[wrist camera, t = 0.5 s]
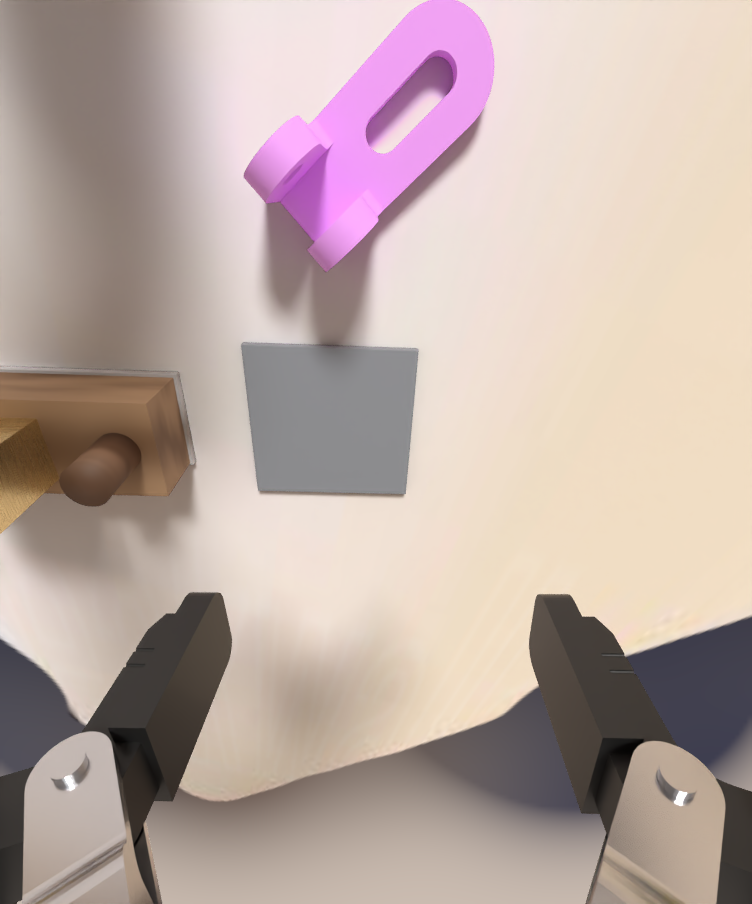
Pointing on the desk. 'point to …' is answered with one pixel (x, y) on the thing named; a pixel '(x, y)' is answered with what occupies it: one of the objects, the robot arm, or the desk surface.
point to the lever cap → (22, 467)
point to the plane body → (104, 428)
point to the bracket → (345, 122)
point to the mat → (330, 416)
